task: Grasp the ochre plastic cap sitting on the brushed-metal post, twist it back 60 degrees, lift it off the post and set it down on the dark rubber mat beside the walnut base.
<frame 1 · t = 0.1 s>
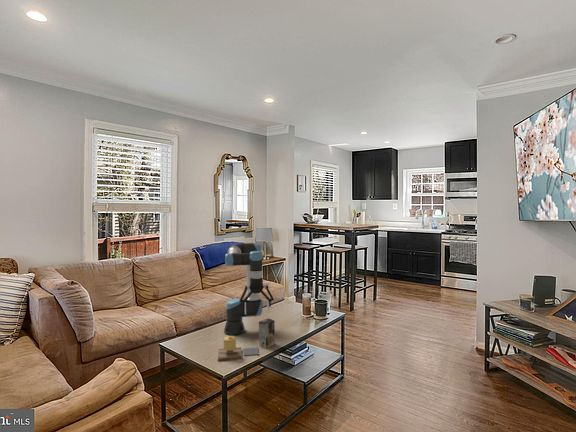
hand: (256, 313, 201), 28 cm above the table, fingers open, 13 cm apart
post base: (229, 355, 208), on the table
coffee box: (266, 345, 223), on the table
cap: (229, 347, 208), point 4 cm above the table, touching post base
mat: (250, 352, 212), on the table
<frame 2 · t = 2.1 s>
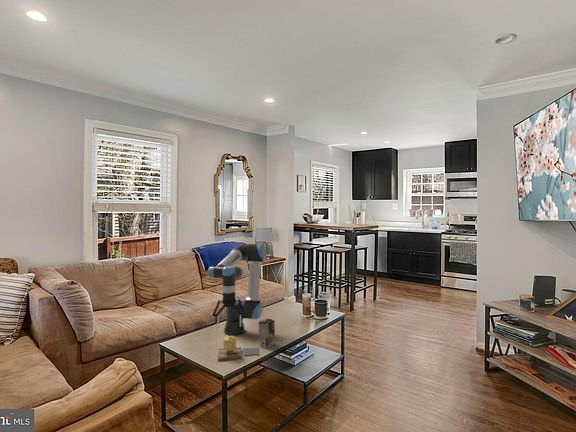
hand: (229, 326, 208), 18 cm above the table, fingers open, 13 cm apart
nothing on the table moved.
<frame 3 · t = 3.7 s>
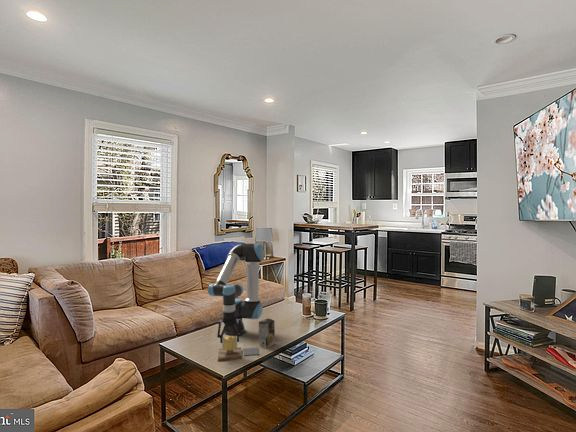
hand: (229, 347, 208), 5 cm above the table, fingers closed on cap, 7 cm apart
cap: (229, 347, 208), point 5 cm above the table, touching gripper, post base
everything else where it was.
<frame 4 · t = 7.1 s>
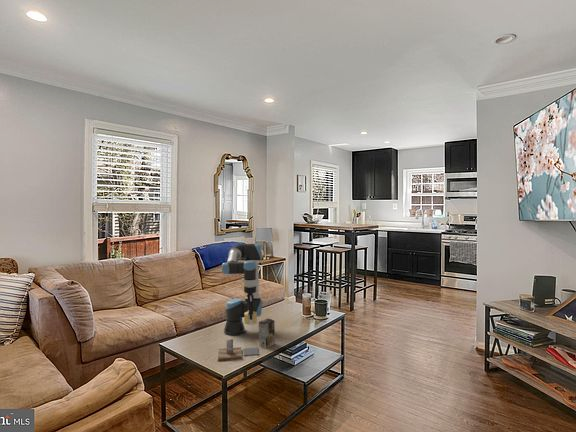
hand: (250, 322, 212), 19 cm above the table, fingers closed on cap, 7 cm apart
cap: (250, 322, 212), point 19 cm above the table, touching gripper
everything else where it was.
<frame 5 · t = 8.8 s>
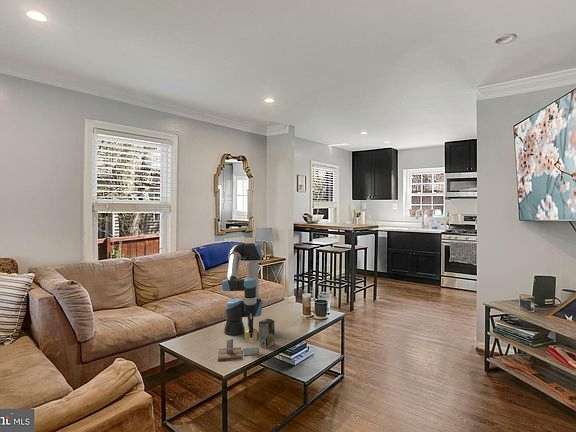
hand: (250, 339, 212), 8 cm above the table, fingers closed on cap, 7 cm apart
cap: (250, 340, 212), point 8 cm above the table, touching gripper
everything else where it was.
when the fingers open (2 cm above the table, at t = 10.4 s): cap drops 1 cm, resting on mat.
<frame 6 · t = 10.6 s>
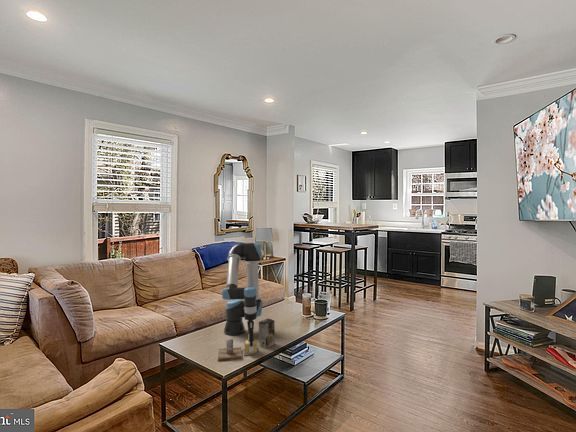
hand: (250, 347, 212), 3 cm above the table, fingers open, 10 cm apart
cap: (250, 351, 212), point 1 cm above the table, touching mat
everything else where it was.
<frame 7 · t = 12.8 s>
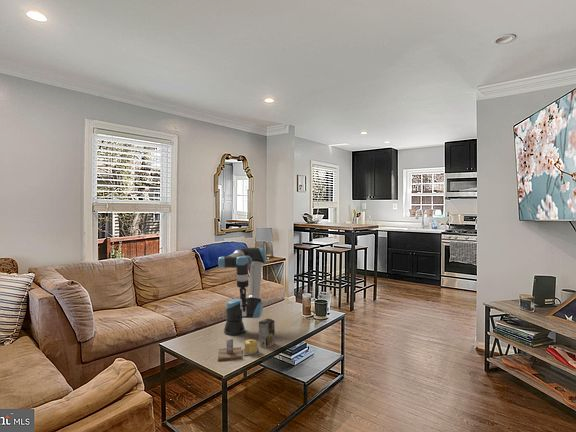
hand: (243, 312, 219), 23 cm above the table, fingers open, 13 cm apart
nothing on the table moved.
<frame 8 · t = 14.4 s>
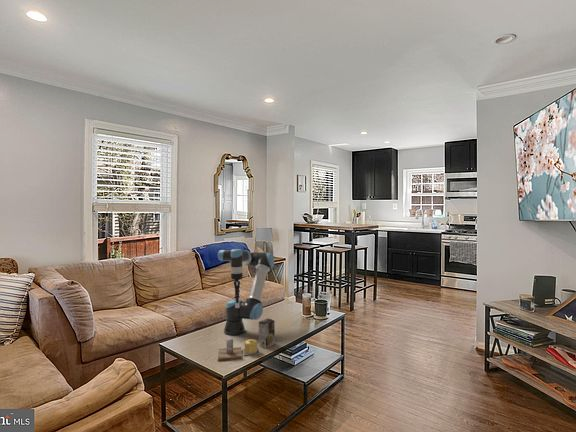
hand: (237, 304, 223), 27 cm above the table, fingers open, 13 cm apart
nothing on the table moved.
at the end: cap inside the target area on the mat (0.0 cm from its centre), point 0.6 cm above the mat's base; cap tilted 0°; cap touching mat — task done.
